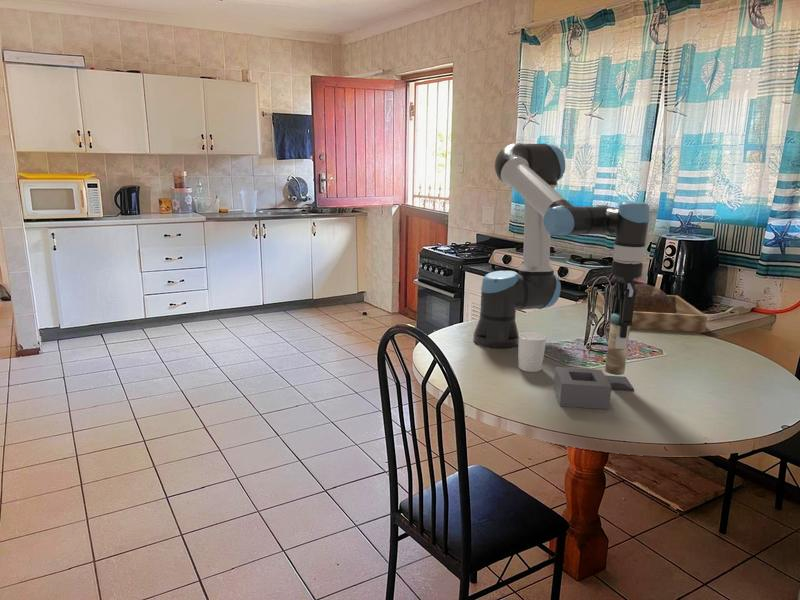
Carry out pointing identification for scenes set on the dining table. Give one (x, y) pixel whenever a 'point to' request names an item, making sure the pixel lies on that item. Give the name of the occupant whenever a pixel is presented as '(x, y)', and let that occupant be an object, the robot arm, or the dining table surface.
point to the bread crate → (666, 317)
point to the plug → (615, 350)
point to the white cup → (531, 351)
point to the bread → (652, 300)
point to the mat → (619, 383)
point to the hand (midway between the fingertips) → (617, 344)
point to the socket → (582, 388)
